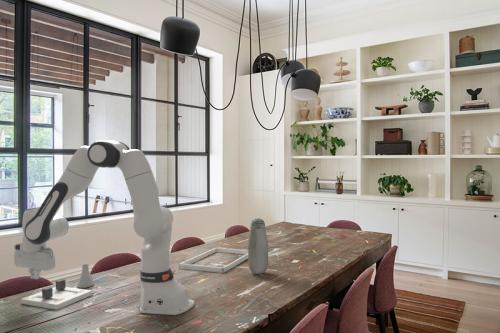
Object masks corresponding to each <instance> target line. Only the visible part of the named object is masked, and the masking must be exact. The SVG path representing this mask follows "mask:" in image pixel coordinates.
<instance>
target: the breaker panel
mask: <svg viewBox="0 0 500 333" xmlns="http://www.w3.org/2000/svg"><path fill="white" fill-rule="evenodd" d="M52 289H53V297H50V298H48V299H43V298H42V291H39V292H37V293H35V294H31V295H28V296H26V297H22V298H21V304H22V305H27V306H32V307H38V308H44V309H50V310H54V311H55V310H56V311H57V310H60V309H63V308H64V307H67V306H69V305H72V304H75V303H76V302H77V303H78V302H79V301H81V300H84V299H86V298H88V297H89V298H90V297H91V296H93V290H90V289H84V288H79V287H70V286H66V288H65V289H62V290H56V286H55V287H52Z"/></svg>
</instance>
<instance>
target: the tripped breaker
mask: <svg viewBox="0 0 500 333" xmlns="http://www.w3.org/2000/svg"><path fill="white" fill-rule="evenodd" d="M52 288H53V287H52V286H46V287H44V288H41V292H42V298H43V299H48V298H50V297H53V289H52Z"/></svg>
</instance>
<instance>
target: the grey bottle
mask: <svg viewBox="0 0 500 333" xmlns="http://www.w3.org/2000/svg"><path fill="white" fill-rule="evenodd" d="M249 227H250V229H249V234H248V239H247V250H248V259H247V261H248V268H249V271H251V273H252V274H255V275H262V274H264V273H266V272H267V271H268V267H269V239H268V235H267V231H266V230H267V229H266V223H265V221H264V219H261V218H260V217H259V218H254V219H253V220H252V221H251V223H250V226H249Z"/></svg>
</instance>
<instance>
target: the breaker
mask: <svg viewBox="0 0 500 333" xmlns="http://www.w3.org/2000/svg"><path fill="white" fill-rule="evenodd" d="M66 285H67V284H66V279H64V278H60V279H58V280H55V287H56V290H62V289H65V288H66V287H67V286H66Z"/></svg>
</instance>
